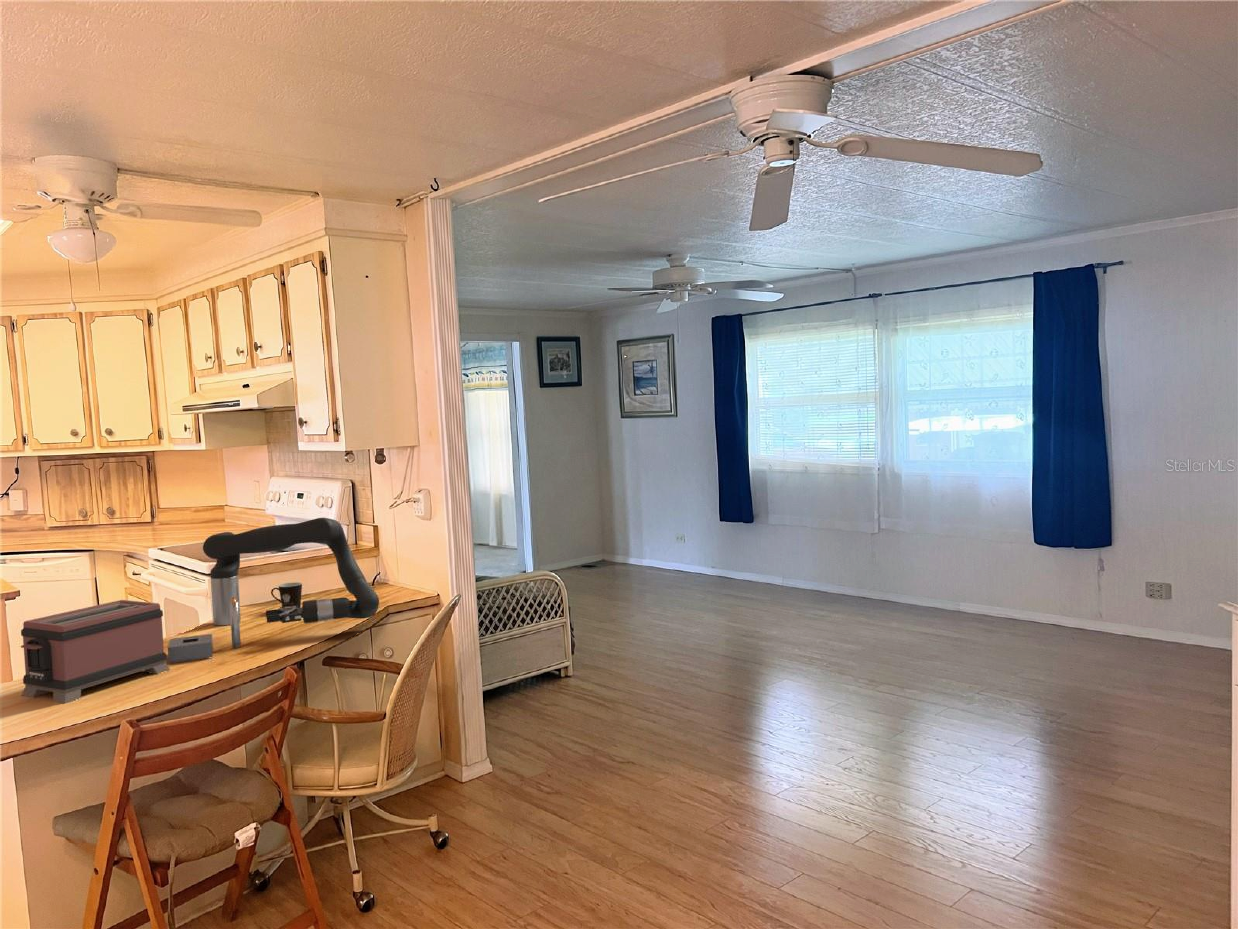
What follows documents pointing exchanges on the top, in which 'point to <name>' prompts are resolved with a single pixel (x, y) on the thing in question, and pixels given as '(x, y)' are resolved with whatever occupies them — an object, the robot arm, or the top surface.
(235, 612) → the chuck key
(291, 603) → the coffee mug
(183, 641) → the block
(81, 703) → the top surface
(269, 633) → the top surface
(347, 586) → the robot arm
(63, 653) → the toaster
